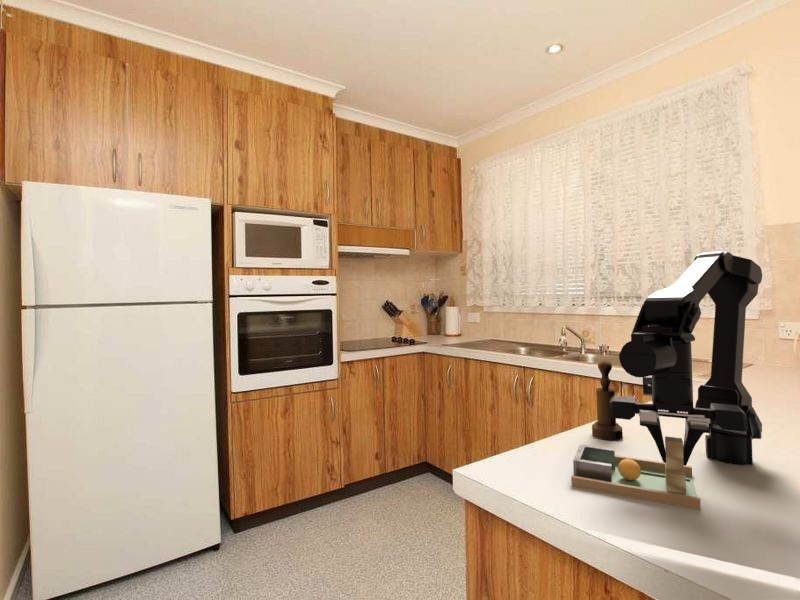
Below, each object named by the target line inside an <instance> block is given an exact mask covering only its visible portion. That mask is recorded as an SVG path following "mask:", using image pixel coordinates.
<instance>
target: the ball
mask: <svg viewBox="0 0 800 600" xmlns="http://www.w3.org/2000/svg"><path fill="white" fill-rule="evenodd" d="M618 471H619V473H620V475H621V476H622V477H623V478H625V479H627V480H636V479H638V478H639V476H640V474H641V469H640V466H639V465H638V464H637V463H636V462H635V461H634V460H631V459H624V460H622V461H621V462H620V463H619V465H618Z"/></svg>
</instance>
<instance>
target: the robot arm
mask: <svg viewBox="0 0 800 600" xmlns="http://www.w3.org/2000/svg"><path fill="white" fill-rule="evenodd" d="M762 280H763V271H762V268H761V266H760V265H758V264H757V263H756V262H755V261H754V260H752V259H750V258H746V257H741V256H736V255H733V254H732V253H731V252H729V251H724V250H721V251H720V250H719V251H710V252H701V253H699V254H696V255H695V257H694V260H693V263H692V264H691V265H690V266H689V267H688V268H687V269H686V270H685V271H684V272H683V273H682V275H680V276H679V278H678V279H677V280H676V281H675V282H674V283H673V284H672V285H670V286H668V287H666V288H663V289H660V290H656V291H655V292H653V293H651V294H650V295H649V296H647V297H646V298H645V300H644V301H643V303H642V304H641V307H640V311H638V312H639V313H638V315H637V317H636V320H635V324H634V326H633V329H632V332H631V334H630V341H628V342H626V343H625V344H624V345H623V346H622V347H621V349H620V353H618V358H619V359H618V360H619V364H620V366H621V368H622V369H623V370H624V371H625V372H626V373H627V374H628V375H630V376H633V377H635V378H642V395H643V396H649V397H651V403H646V402H645V403H643V402H636V397H635V396H622V395H615V396H613V397H612V398H611V400H610V403H609V413H610V417H611V418H616V420H617V419H618V420H619V419H620V420H628V421H630V420H632V418H635V417H636V415H638V417H639V426H642V427H645V428H646V429H647V430H648V432H649V434H650V435H651V437H652V438H653V441H654V442H655V445H656V447H657V450H658V452H659V455H660V458H661V460H662V462H664V463H666V452H665V440H664V437H663V436H664V435H663V432H662V426H661V419H660V417H666V418H667V417H668V418H676V419H678V418H679V419H685V424H684V425H685V426H684V437H683V459H684V465H685V466H686V465H687V466H688V462H689V461H690V457H691V455H692V453H693V450H694V448H695V447H696V444H697V443H698V442H699V440H700V439H701V437H702V435H703V434H706V435H705V436H704V437H705V438H704V440H705V441H704V442H705V444H704V445H705V456H706V458H707V459H708V460H714V461H718V462H720V463H724V464H728V465H733V466H735V465H737V466H745V465H750V466H753V465H754V463H753V461H754V460H753V440H756V439H757V440H761V439H762V433H763V423H762V421H761V420H760V418H759V416H758V414H757V412H756V410H755V409H754V407H753V398H752V396H751V394H750V392H748V390H747V388H746V387H745V385H744V384H743V380H742V379H743V364H744V345H745V329H746V312H747V311H746V309H747V307H748V305H749V304H750V303H751V302H752V301H753V300H754V299H755V298H756V296H758V292H759V285H760V284H761V283H762ZM707 294H708V296H709V298H710V299H711V301H712V302H713V303H714V322H713V334H712V335H713V336H712V337H713V338H712V352H711V365H710V366H711V369H710V377H709V379H708V380H707V381H706V382H705V383H704V384H700V385H699V387H698V388H697V399H696V401H695V404H694V391H693V389H694V385H693V384H694V383H693V358H692V357H693V355H692V342H695V340H696V337H695V335H693V332H694V329H695V328H696V325H697V323H698V321H699V320H700V318H701V315H702V311H701V307H700V303H701V302H702V300H703V299H704V298H705V297H706V295H707ZM694 405H695V406H694Z"/></svg>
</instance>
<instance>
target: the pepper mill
mask: <svg viewBox="0 0 800 600" xmlns="http://www.w3.org/2000/svg"><path fill="white" fill-rule="evenodd" d="M597 368H598V371H599V372H600V373H601V378H599V382H600V387H597V388H595V395H596V412H597V413H596V414H597V416H596V417H597V418H596V419H597V421H595V422H594V423H592V425H591V434H592V436H593V437H594V438H596V439H598V440H604V441H619V440H622V439H623V438H624V436H623V435H624V434H623V433H624V432H623V427H622V426H621V425H620V424H619V423H617V418H611V417H610V413H609V403H610V400H611V398H612V397H613V396H616V391H615V389H614V388H611V387H610V384H611V378H610V376H609V374H610V372H611V371H612V368H613V364H612V363H611V361H609V360H607V359H601V360H599V362H598V364H597Z"/></svg>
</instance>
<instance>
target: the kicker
mask: <svg viewBox="0 0 800 600" xmlns="http://www.w3.org/2000/svg"><path fill="white" fill-rule="evenodd" d="M683 444H684V440H683V438H682V437H675V436H665V437H664V446H665V452H666V463H665V479H666V488H667V491H669V492H674V493H680V494H686V476H685V471H684V459H683Z"/></svg>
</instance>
